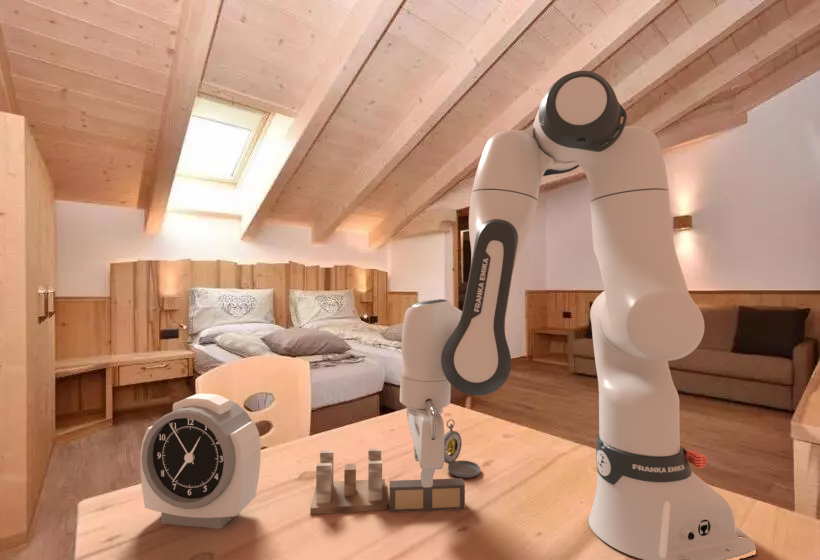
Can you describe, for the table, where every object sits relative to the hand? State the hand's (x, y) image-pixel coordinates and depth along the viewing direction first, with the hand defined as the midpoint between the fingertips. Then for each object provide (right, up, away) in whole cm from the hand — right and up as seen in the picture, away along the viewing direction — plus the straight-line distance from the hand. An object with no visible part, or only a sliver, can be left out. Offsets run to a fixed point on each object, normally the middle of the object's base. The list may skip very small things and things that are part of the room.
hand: (422, 471), depth 70 cm
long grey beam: (+1, -7, +1) cm, 7 cm away
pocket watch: (+8, -7, +15) cm, 18 cm away
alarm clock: (-37, -7, -3) cm, 38 cm away
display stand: (-13, -6, +3) cm, 15 cm away
